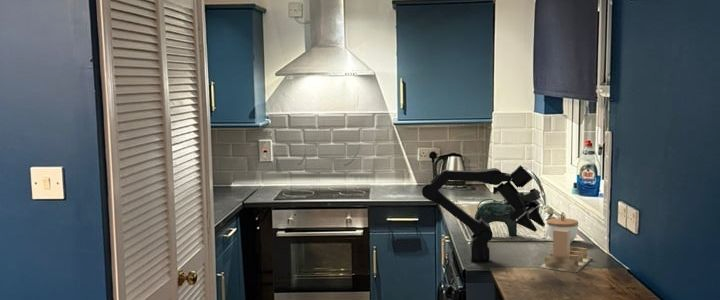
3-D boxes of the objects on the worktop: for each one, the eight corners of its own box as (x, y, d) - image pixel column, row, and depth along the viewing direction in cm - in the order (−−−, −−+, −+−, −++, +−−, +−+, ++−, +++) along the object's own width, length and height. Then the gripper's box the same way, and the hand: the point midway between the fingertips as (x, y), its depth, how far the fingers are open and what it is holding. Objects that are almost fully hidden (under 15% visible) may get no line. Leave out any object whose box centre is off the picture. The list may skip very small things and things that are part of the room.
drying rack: (540, 267, 231) (540, 256, 230) (557, 254, 248) (557, 244, 248) (576, 272, 223) (576, 261, 223) (591, 258, 241) (591, 248, 240)
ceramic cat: (518, 234, 286) (518, 190, 284) (521, 237, 280) (521, 192, 278) (474, 234, 288) (473, 190, 286) (475, 237, 281) (475, 193, 280)
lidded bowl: (581, 240, 270) (581, 215, 269) (573, 247, 259) (573, 220, 259) (552, 237, 277) (551, 212, 276) (543, 243, 266) (542, 217, 265)
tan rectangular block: (567, 267, 228) (567, 231, 227) (553, 265, 230) (553, 230, 229) (569, 265, 231) (569, 230, 230) (556, 263, 233) (556, 228, 232)
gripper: (518, 185, 227) (548, 219, 223) (535, 179, 243) (563, 210, 238) (497, 205, 233) (525, 238, 228) (514, 197, 248) (542, 228, 243)
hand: (540, 228), depth 234 cm, fingers open, 9 cm apart
